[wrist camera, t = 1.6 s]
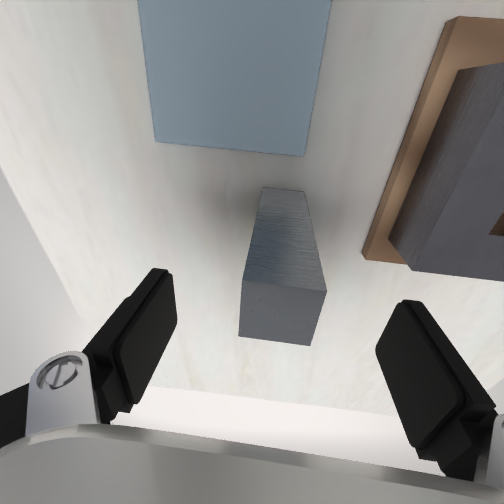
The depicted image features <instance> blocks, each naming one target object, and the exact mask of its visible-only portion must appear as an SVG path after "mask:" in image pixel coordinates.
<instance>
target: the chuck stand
mask: <svg viewBox="0 0 504 504" xmlns="http://www.w3.org/2000/svg"><path fill="white" fill-rule="evenodd" d="M501 62H504V19H494V18H479V17H464V16H458V17H456V18H453V19H451V20H449V21H447V22H446V25H445V28H444V30H443V33H442V36H441V38H440V41H439V44H438V47H437V49H436V52H435V55H434V57H433V60H432V63H431V66H430V68H429V71H428V74H427V77H426V79H425V82H424V85H423V87H422V90H421V93H420V96H419V98H418V101H417V104H416V106H415V109H414V112H413V115H412V117H411V120H410V123H409V125H408V128H407V131H406V134H405V136H404V139H403V142H402V145H401V147H400V150H399V153H398V155H397V158H396V161H395V164H394V166H393V169H392V172H391V174H390V177H389V180H388V183H387V185H386V188H385V191H384V194H383V196H382V199H381V202H380V204H379V207H378V210H377V213H376V215H375V218H374V221H373V223H372V226H371V229H370V232H369V234H368V237H367V240H366V243H365V245H364V248H363V251H362V254H363V256H364V258H365V260H373V261H381V262H390V263H399V264H406V262H405V261H404V260H403V258H402V257H401V256H400V254H399V253H398V252H397V250H396V249H395V248H394V246H393V245H392V244H391V242H390V241H389V240H388V237H389V234H390V232H391V230H392V227H393V225H394V222H395V220H396V218H397V215H398V213H399V210H400V208H401V206H402V203H403V201H404V199H405V196H406V194H407V191H408V189H409V187H410V184H411V182H412V179H413V177H414V175H415V172H416V170H417V167H418V165H419V163H420V160H421V158H422V156H423V153H424V151H425V148H426V146H427V144H428V141H429V139H430V136H431V134H432V132H433V129H434V127H435V125H436V122H437V120H438V117H439V115H440V113H441V110H442V108H443V105H444V103H445V101H446V98H447V96H448V93H449V91H450V89H451V86H452V84H453V82H454V79H455V77H456V74H457V72H458V70H460V69H466V68H472V67H478V66H484V65H490V64H496V63H501ZM503 213H504V211H503Z"/></svg>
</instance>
